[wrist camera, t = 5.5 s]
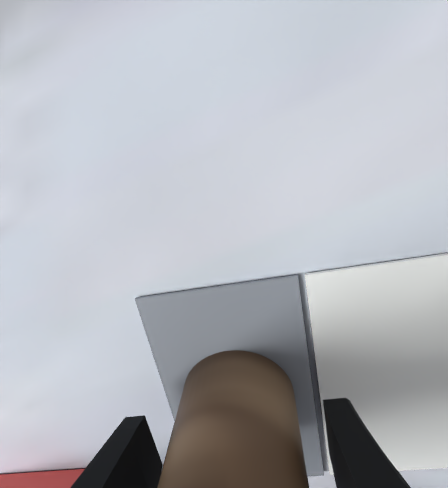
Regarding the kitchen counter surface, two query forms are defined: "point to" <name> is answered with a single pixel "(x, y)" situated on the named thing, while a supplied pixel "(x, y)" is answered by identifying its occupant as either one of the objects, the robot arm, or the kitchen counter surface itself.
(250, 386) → the walnut pawn
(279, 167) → the kitchen counter surface
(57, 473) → the red die
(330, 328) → the game track
